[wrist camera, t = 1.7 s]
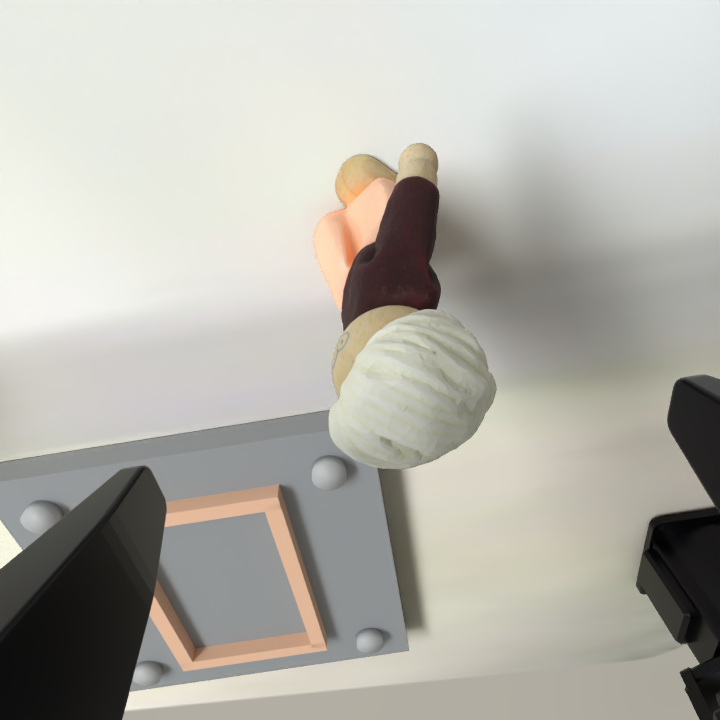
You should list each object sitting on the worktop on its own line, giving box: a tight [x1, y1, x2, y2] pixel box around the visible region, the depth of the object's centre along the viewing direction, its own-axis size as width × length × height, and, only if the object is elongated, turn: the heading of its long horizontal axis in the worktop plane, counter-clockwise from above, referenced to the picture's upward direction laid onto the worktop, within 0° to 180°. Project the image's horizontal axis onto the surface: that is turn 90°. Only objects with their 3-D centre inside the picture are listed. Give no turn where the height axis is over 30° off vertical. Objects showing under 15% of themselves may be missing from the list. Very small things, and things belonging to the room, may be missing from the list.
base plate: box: [0, 410, 409, 692], centre depth 27 cm, size 18×18×2 cm
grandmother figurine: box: [313, 143, 496, 469], centre depth 14 cm, size 8×4×13 cm, turn 0°
